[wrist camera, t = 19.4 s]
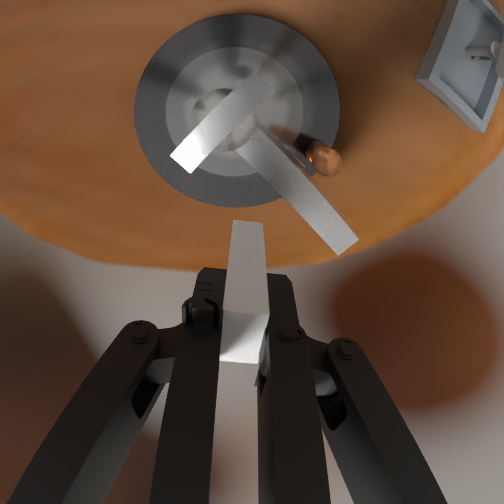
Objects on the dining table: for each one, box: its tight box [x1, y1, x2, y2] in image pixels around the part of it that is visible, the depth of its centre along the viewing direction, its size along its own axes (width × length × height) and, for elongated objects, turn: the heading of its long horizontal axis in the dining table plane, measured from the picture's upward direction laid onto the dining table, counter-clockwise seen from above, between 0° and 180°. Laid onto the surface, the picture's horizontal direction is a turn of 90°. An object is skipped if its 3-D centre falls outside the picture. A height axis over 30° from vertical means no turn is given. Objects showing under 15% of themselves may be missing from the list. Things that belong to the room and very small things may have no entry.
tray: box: [415, 0, 504, 133], centre depth 16 cm, size 16×9×2 cm, turn 157°
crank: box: [166, 47, 359, 255], centre depth 16 cm, size 15×10×11 cm, turn 44°
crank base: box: [134, 14, 342, 207], centre depth 20 cm, size 17×17×6 cm
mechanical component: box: [465, 36, 504, 82], centre depth 12 cm, size 3×10×10 cm, turn 158°
